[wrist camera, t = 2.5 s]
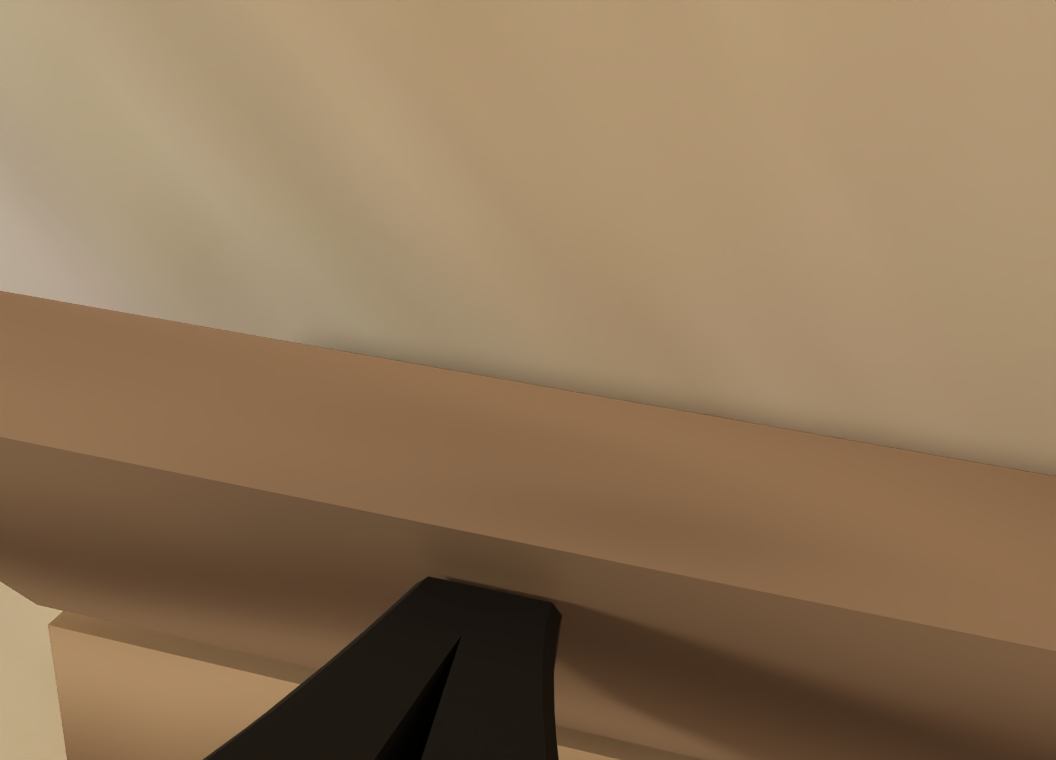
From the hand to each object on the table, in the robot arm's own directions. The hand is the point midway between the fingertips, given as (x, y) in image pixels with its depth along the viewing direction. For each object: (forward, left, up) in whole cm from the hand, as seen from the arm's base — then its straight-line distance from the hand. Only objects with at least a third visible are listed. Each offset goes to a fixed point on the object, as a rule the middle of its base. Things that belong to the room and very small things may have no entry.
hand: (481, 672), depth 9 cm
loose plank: (0, -3, -3) cm, 4 cm away
